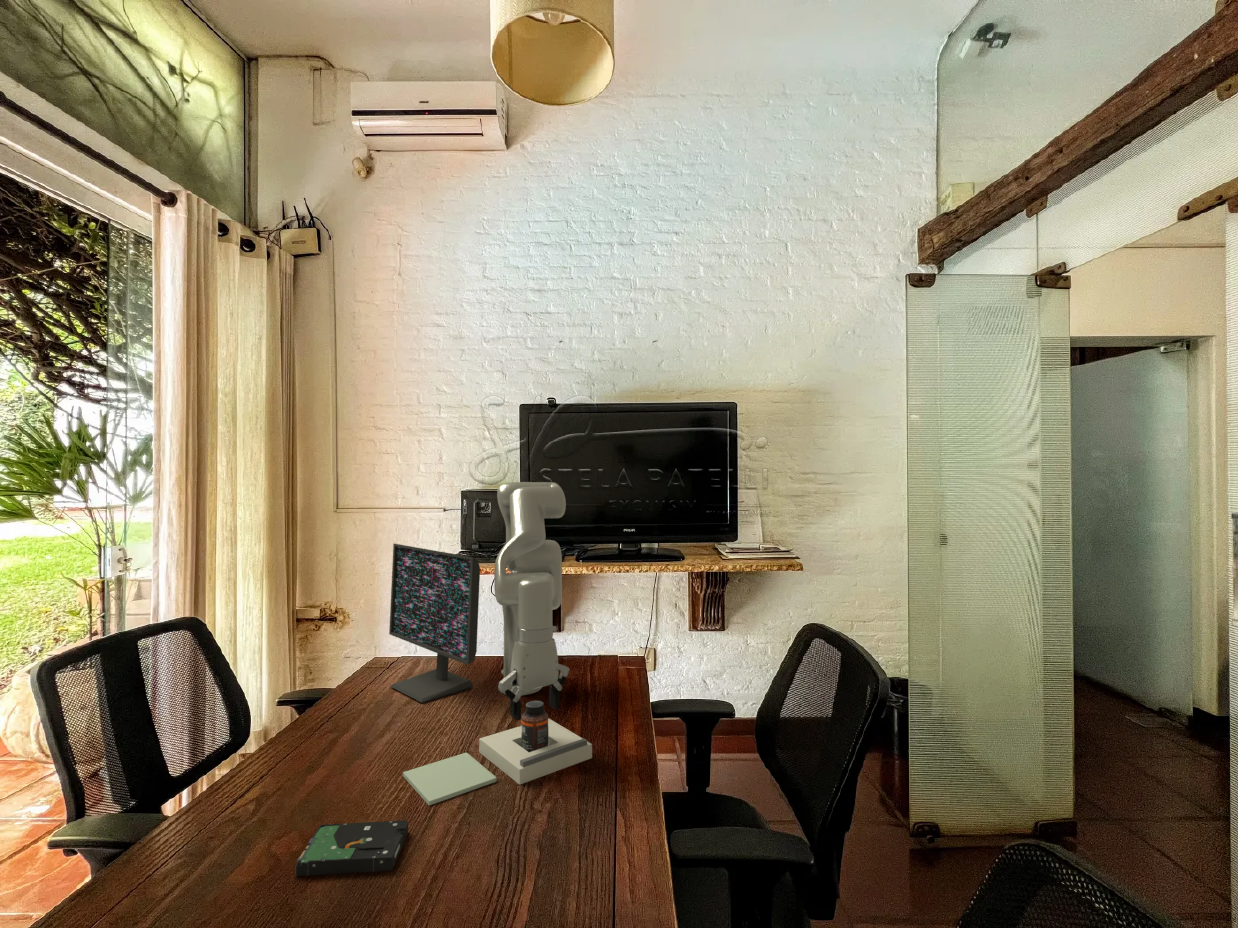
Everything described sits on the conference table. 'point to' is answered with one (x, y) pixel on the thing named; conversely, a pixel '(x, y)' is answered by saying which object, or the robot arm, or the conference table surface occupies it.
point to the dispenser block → (534, 752)
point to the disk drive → (353, 848)
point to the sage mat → (448, 778)
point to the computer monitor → (435, 614)
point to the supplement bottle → (534, 727)
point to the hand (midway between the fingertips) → (535, 712)
